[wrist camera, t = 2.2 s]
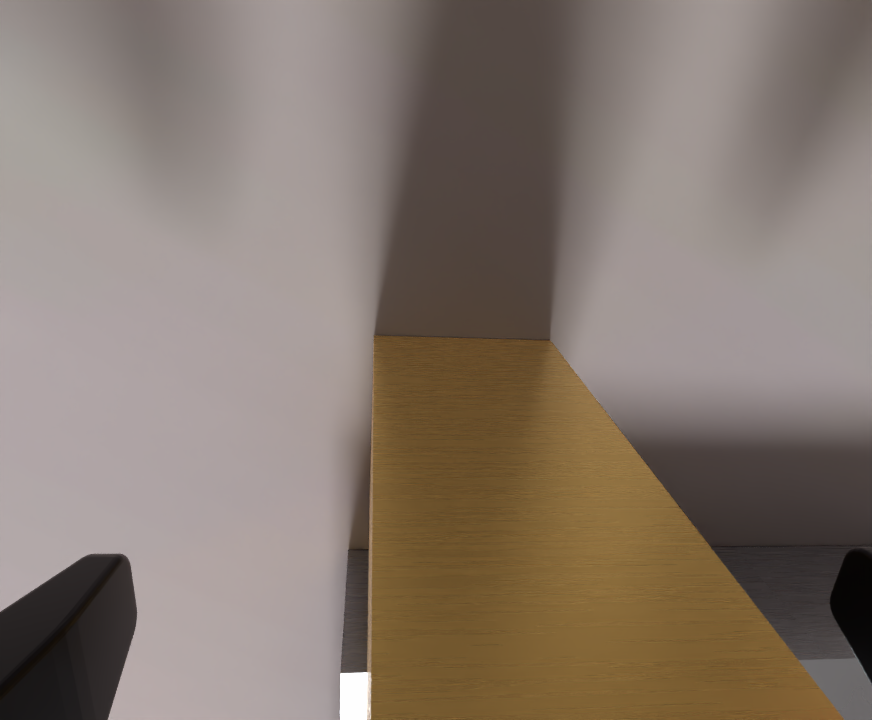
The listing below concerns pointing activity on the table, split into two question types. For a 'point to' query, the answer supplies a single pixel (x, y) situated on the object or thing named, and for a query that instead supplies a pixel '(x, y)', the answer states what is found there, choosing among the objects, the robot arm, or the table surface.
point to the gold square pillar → (544, 558)
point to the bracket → (755, 572)
